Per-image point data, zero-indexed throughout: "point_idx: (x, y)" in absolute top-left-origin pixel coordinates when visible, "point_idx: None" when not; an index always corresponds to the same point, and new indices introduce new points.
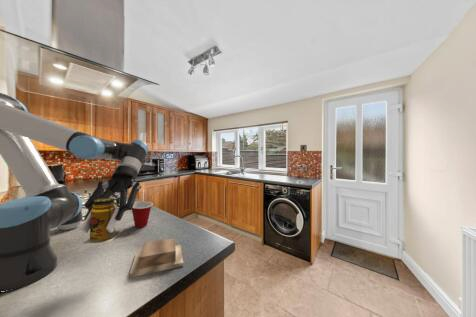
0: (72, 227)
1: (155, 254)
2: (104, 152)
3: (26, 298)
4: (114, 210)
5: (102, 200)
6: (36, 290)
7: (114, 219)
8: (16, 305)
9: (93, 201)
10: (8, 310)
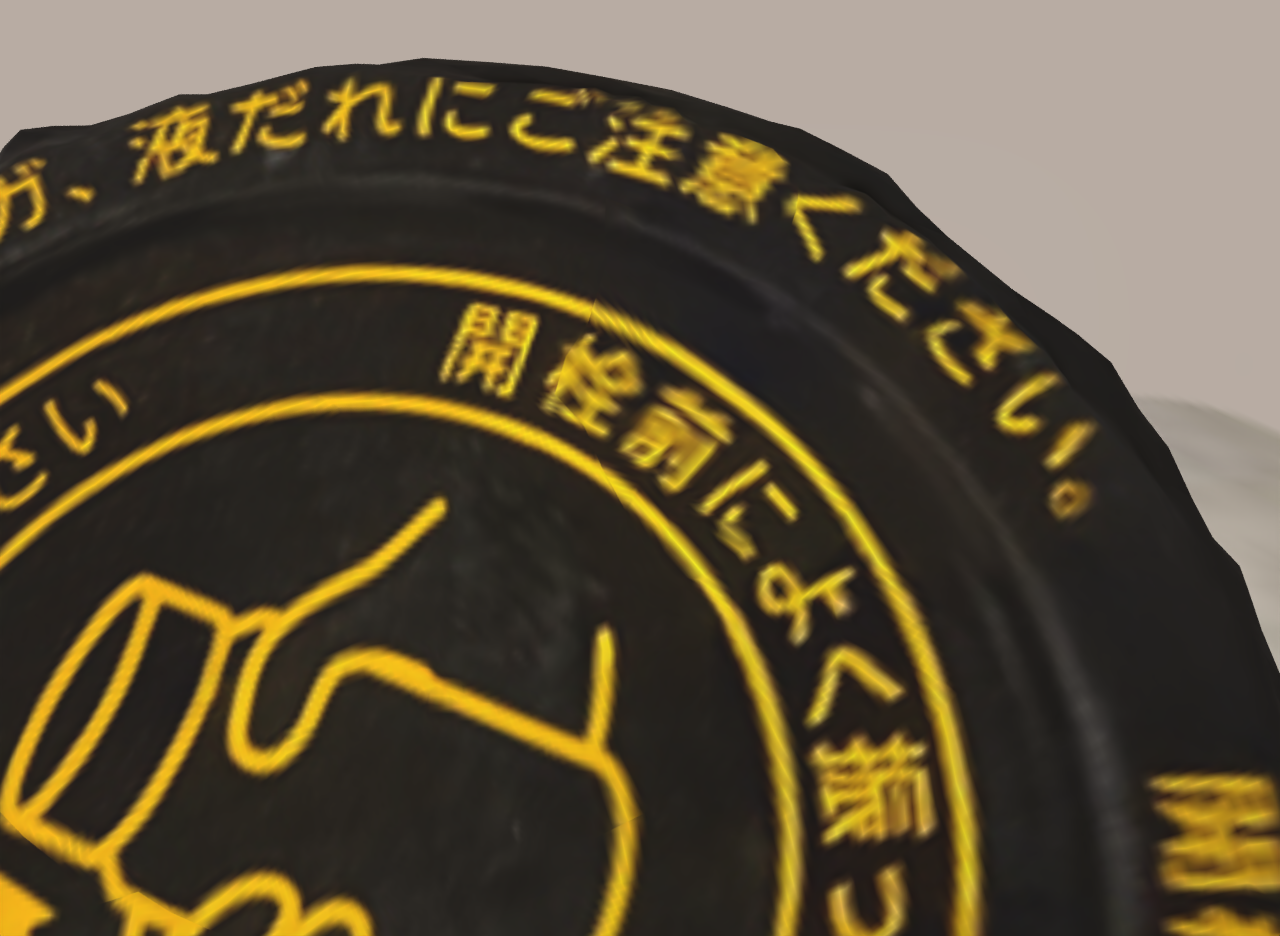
0: None
1: None
2: None
3: (1219, 543)
4: None
5: (289, 624)
6: (1271, 653)
7: None
8: (1193, 460)
9: (825, 146)
10: (1185, 408)
